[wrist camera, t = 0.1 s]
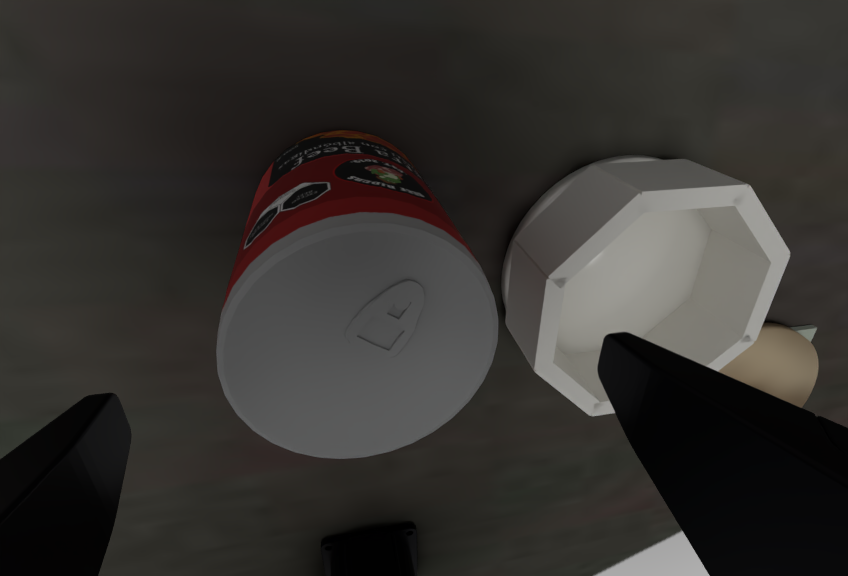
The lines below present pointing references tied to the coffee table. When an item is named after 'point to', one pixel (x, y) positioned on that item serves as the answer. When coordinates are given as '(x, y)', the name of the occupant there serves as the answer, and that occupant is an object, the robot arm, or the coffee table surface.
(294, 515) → the coffee table surface
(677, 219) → the bowl
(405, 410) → the canned food
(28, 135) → the coffee table surface
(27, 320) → the coffee table surface
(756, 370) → the lid
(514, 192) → the coffee table surface
